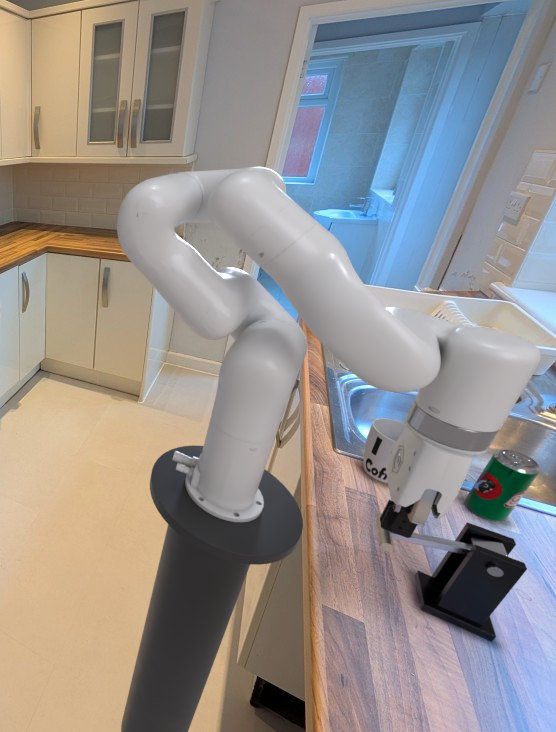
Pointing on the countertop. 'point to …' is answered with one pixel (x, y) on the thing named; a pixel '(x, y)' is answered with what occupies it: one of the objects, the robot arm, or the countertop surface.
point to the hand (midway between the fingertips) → (394, 528)
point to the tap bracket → (470, 583)
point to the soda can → (501, 485)
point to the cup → (380, 446)
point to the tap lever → (435, 542)
